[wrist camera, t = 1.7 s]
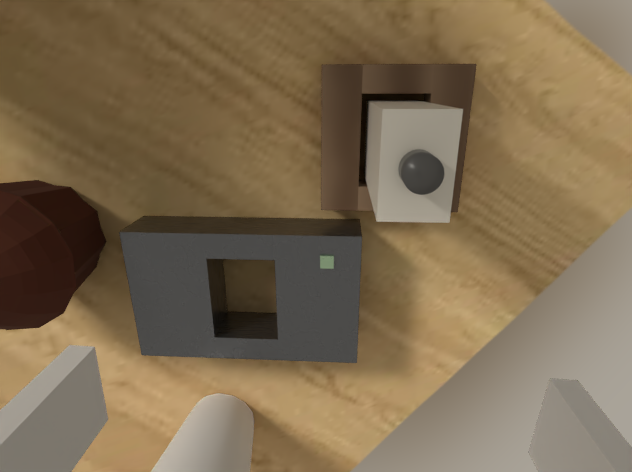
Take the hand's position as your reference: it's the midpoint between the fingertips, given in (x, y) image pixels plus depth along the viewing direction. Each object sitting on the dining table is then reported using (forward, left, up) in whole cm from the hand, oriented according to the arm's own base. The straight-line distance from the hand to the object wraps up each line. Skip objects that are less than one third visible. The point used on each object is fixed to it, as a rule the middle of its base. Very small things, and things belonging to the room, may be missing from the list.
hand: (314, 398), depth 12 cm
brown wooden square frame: (-5, +4, -22) cm, 23 cm away
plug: (-5, +4, -22) cm, 23 cm away
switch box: (+7, -7, -22) cm, 24 cm away
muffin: (+3, -24, -22) cm, 33 cm away
